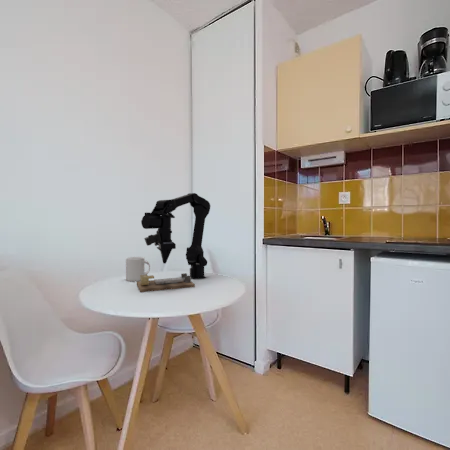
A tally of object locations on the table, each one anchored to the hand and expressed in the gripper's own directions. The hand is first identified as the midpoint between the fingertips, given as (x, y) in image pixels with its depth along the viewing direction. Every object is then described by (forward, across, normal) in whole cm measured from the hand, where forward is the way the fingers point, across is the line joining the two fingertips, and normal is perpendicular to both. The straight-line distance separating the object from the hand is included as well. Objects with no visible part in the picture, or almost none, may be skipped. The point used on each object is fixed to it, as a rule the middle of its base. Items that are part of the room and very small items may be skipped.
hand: (164, 263), depth 124 cm
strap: (+9, 0, +3) cm, 9 cm away
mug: (+10, -18, -10) cm, 23 cm away
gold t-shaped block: (+8, 0, -7) cm, 11 cm away
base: (+10, 0, 0) cm, 10 cm away
